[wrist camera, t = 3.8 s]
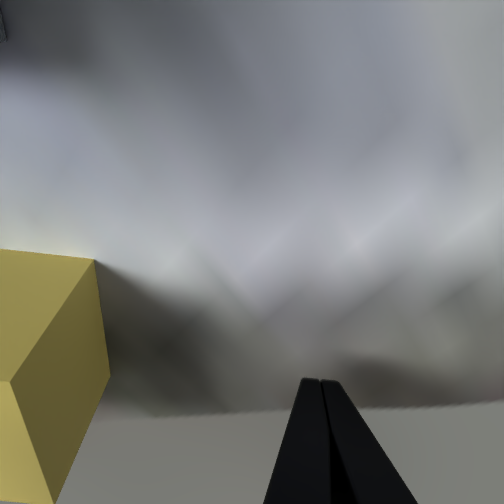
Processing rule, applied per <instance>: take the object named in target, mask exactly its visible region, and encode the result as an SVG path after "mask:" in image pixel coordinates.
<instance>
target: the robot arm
mask: <svg viewBox="0 0 504 504" xmlns="http://www.w3.org/2000/svg"><path fill="white" fill-rule="evenodd" d="M263 504H418V503H417V501H416V500H415V498H414V497H413V495H412V494H411V492H410V490H409V489H408V488H407V486H406V484H405V483H404V481H403V480H402V478H401V477H400V475H399V473H398V472H397V470H396V469H395V467H394V466H393V464H392V463H391V461H390V460H389V458H388V457H387V455H386V454H385V452H384V451H383V449H382V447H381V446H380V444H379V443H378V441H377V440H376V438H375V436H374V435H373V433H372V432H371V430H370V429H369V427H368V426H367V424H366V423H365V421H364V419H363V418H362V417H361V415H360V414H359V412H358V410H357V409H356V407H355V406H354V404H353V403H352V401H351V399H350V398H349V396H348V395H347V393H346V392H345V390H344V389H343V387H342V386H341V384H340V383H339V382H338V381H335V380H325V379H322V380H320V381H319V380H318V379H315V378H305V377H304V378H302V379H301V382H300V385H299V388H298V392H297V395H296V398H295V401H294V405H293V408H292V411H291V414H290V418H289V421H288V424H287V427H286V431H285V434H284V437H283V440H282V444H281V447H280V450H279V454H278V457H277V460H276V463H275V467H274V470H273V473H272V476H271V479H270V483H269V486H268V489H267V492H266V496H265V499H264V502H263Z"/></svg>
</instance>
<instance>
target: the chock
mask: <svg viewBox="0 0 504 504" xmlns="http://www.w3.org/2000/svg"><path fill="white" fill-rule="evenodd" d="M110 376H111V375H110V368H109V361H108V354H107V347H106V340H105V333H104V326H103V319H102V312H101V305H100V298H99V292H98V285H97V278H96V271H95V264H94V259H88V258H79V257H70V256H61V255H52V254H43V253H34V252H24V251H15V250H6V249H0V500H1V501H10V502H21V503H30V504H55V503H56V501H57V499H58V497H59V494H60V492H61V490H62V487H63V485H64V483H65V480H66V478H67V476H68V473H69V471H70V469H71V466H72V464H73V461H74V459H75V457H76V455H77V452H78V450H79V448H80V445H81V443H82V441H83V439H84V436H85V434H86V432H87V429H88V427H89V425H90V422H91V420H92V418H93V415H94V413H95V411H96V408H97V406H98V404H99V401H100V399H101V397H102V394H103V392H104V390H105V387H106V385H107V383H108V380H109V378H110Z"/></svg>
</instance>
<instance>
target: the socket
mask: <svg viewBox="0 0 504 504" xmlns="http://www.w3.org/2000/svg"><path fill="white" fill-rule="evenodd" d="M5 41H7V38H6V34H5V29H4V24H3V20H2V15H1V10H0V42H5Z"/></svg>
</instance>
